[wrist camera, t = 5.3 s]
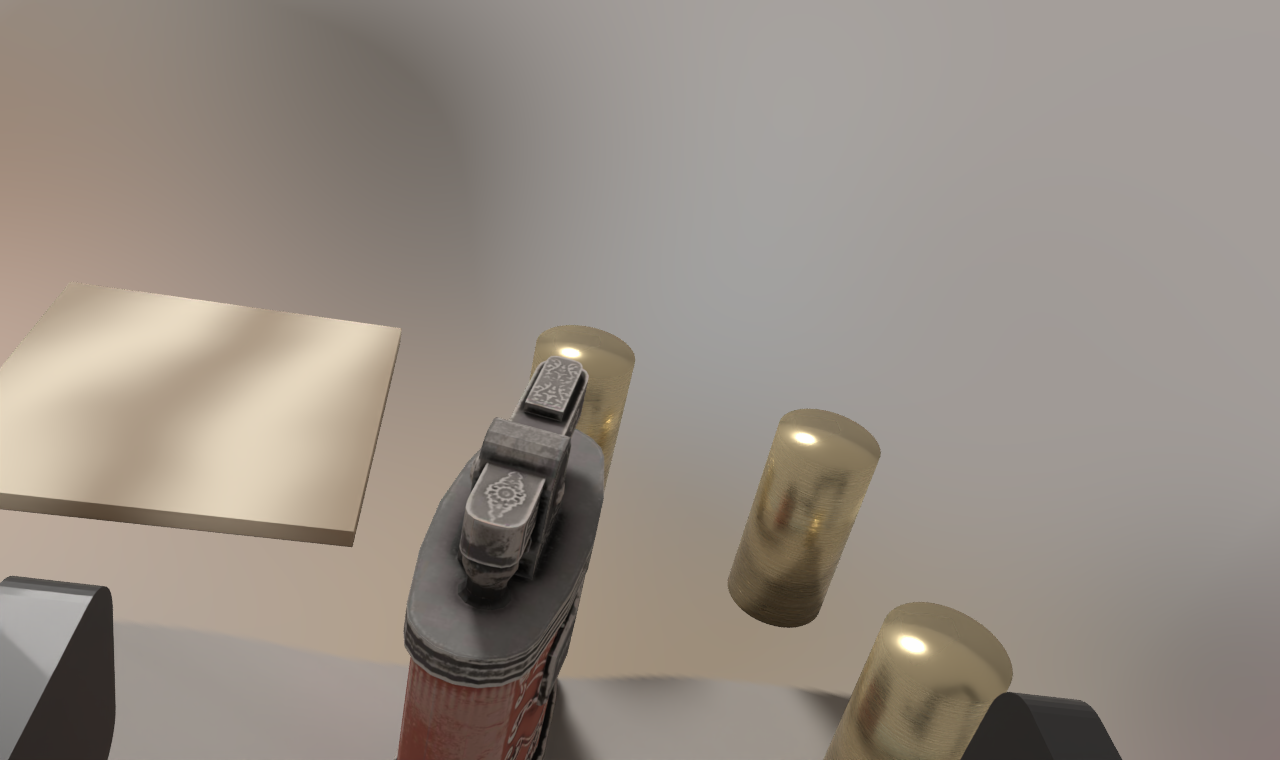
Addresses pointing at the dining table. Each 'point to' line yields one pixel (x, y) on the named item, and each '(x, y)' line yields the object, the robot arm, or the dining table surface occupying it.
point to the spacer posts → (824, 569)
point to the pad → (194, 415)
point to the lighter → (503, 581)
